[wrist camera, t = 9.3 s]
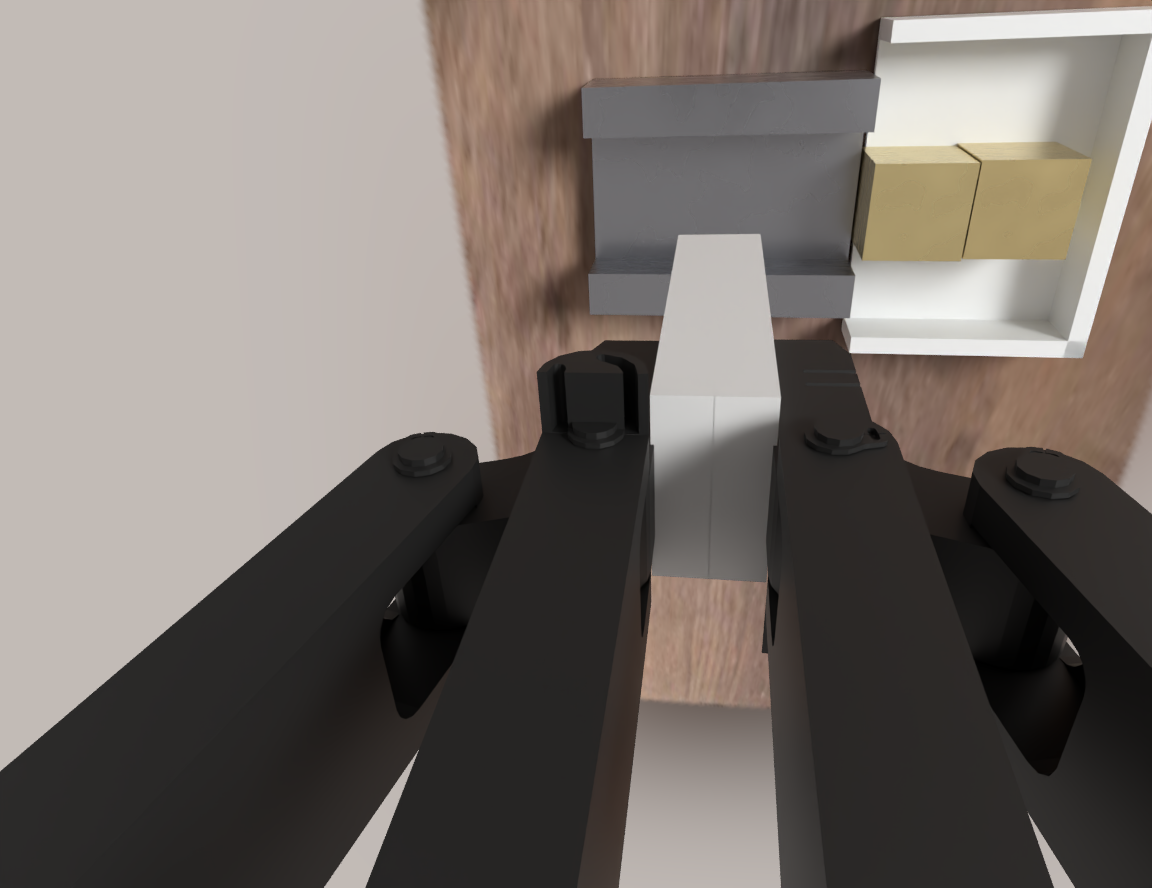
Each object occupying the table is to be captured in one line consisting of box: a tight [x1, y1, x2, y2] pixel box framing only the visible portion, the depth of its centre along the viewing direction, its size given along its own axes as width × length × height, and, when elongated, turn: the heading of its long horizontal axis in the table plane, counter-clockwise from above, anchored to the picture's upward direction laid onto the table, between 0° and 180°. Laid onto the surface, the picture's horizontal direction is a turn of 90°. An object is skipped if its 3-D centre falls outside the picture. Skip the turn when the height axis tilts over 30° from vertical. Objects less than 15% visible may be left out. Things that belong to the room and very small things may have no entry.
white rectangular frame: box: [841, 6, 1152, 358], centre depth 35 cm, size 14×10×3 cm
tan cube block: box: [851, 146, 981, 261], centre depth 35 cm, size 4×4×4 cm
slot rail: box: [581, 70, 881, 318], centre depth 37 cm, size 10×12×4 cm
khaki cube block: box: [957, 142, 1092, 260], centre depth 34 cm, size 4×4×4 cm
